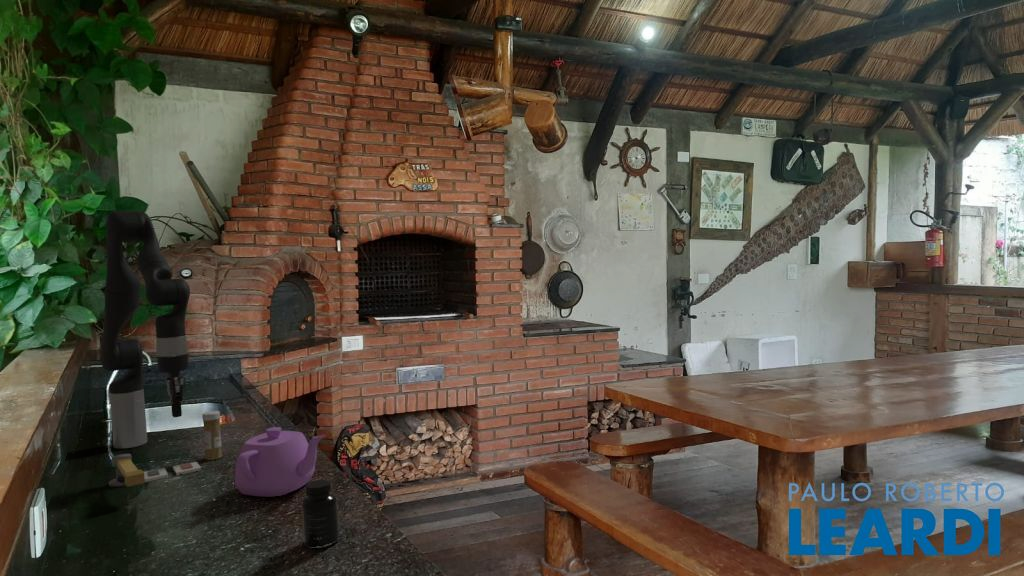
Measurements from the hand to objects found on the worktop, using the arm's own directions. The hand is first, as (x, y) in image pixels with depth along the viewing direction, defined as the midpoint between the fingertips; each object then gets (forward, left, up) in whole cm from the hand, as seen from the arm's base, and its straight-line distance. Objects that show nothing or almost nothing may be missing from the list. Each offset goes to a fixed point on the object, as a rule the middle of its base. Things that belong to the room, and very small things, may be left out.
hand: (177, 416), depth 175 cm
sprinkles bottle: (-6, +9, -15) cm, 19 cm away
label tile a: (0, -7, -15) cm, 16 cm away
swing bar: (+9, -13, -10) cm, 19 cm away
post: (0, -14, -15) cm, 20 cm away
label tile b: (0, +1, -15) cm, 15 cm away
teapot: (+32, +17, -15) cm, 39 cm away
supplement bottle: (+69, +15, -15) cm, 72 cm away
